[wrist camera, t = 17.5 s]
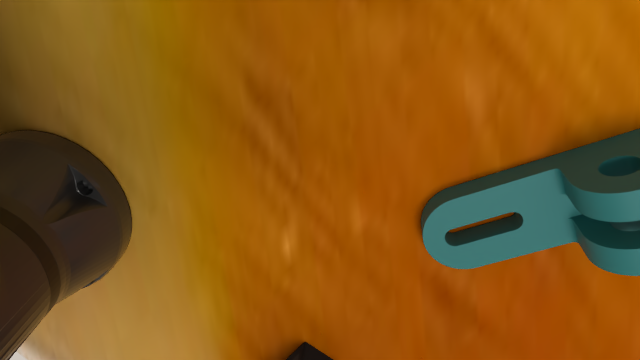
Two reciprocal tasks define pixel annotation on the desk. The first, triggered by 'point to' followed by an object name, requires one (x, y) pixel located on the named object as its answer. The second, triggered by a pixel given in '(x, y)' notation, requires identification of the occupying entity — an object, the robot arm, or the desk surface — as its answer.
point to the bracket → (545, 209)
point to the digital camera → (308, 353)
